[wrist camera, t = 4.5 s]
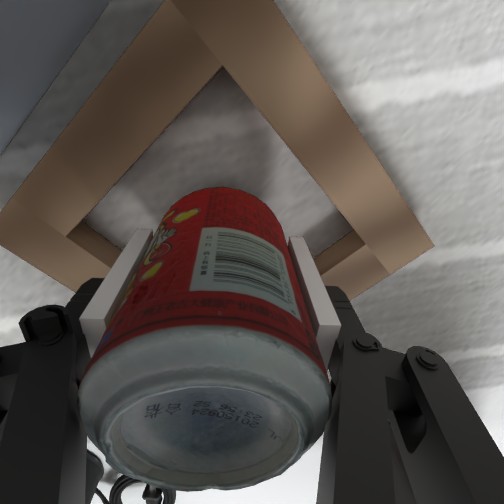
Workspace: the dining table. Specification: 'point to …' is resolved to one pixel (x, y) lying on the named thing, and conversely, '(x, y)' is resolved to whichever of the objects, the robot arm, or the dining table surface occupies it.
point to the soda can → (208, 354)
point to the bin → (36, 51)
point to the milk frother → (120, 486)
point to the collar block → (167, 110)
